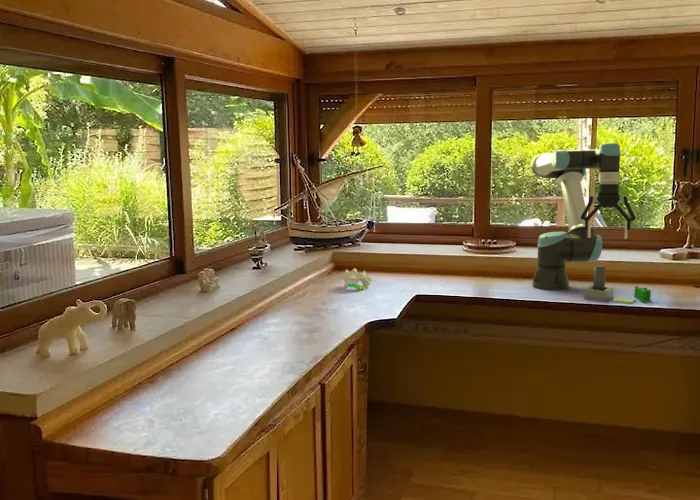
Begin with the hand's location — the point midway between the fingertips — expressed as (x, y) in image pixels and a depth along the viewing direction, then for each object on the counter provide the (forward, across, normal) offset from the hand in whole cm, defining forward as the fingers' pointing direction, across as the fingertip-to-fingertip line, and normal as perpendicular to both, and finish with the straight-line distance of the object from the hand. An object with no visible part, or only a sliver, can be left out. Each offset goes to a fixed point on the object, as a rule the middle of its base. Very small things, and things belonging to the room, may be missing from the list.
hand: (607, 238), depth 276 cm
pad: (+24, +7, 0) cm, 25 cm away
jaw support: (+23, -99, -24) cm, 105 cm away
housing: (+24, -3, +2) cm, 24 cm away
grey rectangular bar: (+24, -3, +2) cm, 24 cm away
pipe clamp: (+25, +13, +6) cm, 29 cm away
